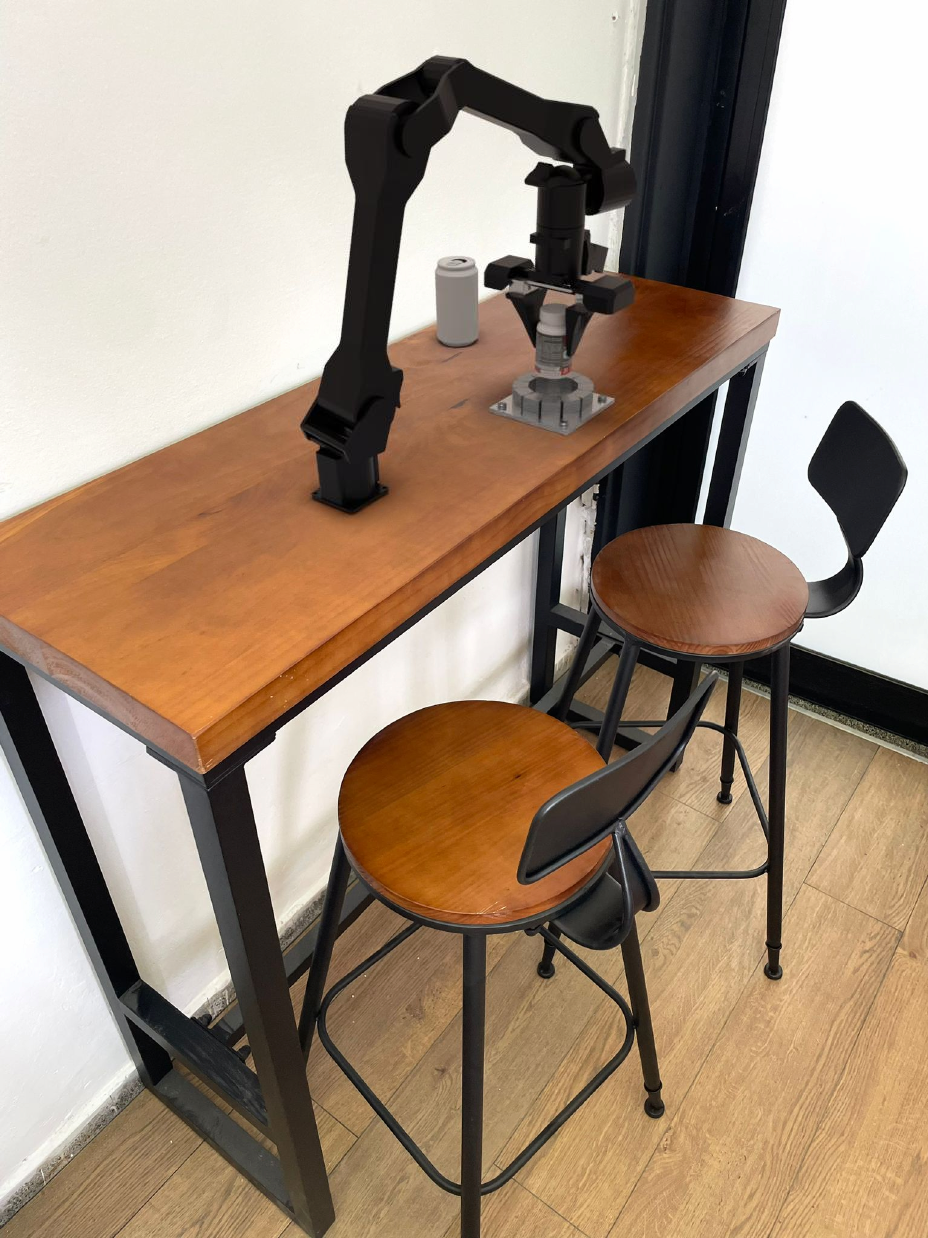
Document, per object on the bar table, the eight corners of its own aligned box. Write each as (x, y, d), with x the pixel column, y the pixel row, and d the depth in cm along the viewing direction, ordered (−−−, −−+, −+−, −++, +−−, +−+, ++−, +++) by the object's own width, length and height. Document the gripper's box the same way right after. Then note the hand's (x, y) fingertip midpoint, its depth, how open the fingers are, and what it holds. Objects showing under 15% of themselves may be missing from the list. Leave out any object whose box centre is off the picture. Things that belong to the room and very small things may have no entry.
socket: (566, 435, 116) (567, 412, 114) (489, 411, 122) (489, 389, 120) (614, 402, 124) (616, 380, 122) (539, 381, 130) (540, 360, 128)
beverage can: (486, 337, 143) (486, 258, 136) (464, 351, 139) (462, 269, 132) (451, 330, 146) (450, 251, 139) (429, 343, 142) (426, 263, 135)
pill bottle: (568, 381, 118) (573, 316, 113) (532, 378, 118) (535, 313, 113) (573, 366, 121) (577, 303, 116) (537, 364, 122) (540, 300, 117)
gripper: (663, 220, 109) (649, 348, 119) (532, 198, 118) (528, 319, 128) (616, 241, 102) (605, 376, 112) (481, 216, 111) (481, 343, 121)
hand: (553, 351), depth 118 cm, fingers closed on pill bottle, 5 cm apart
